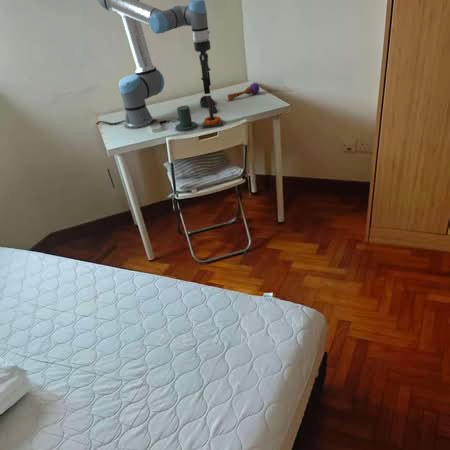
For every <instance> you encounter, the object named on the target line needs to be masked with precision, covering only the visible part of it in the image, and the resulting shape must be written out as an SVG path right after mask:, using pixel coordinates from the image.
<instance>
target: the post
mask: <svg viewBox="0 0 450 450" xmlns="http://www.w3.org/2000/svg"><path fill="white" fill-rule="evenodd" d="M206 96H207V99H208V107H207V108H208V113H209V117H210V121H212V120H214V116H215V115H214V113H213V107H212V100H211V98H212V95H211V94H209V95H208V94H207V95H206ZM216 127H217V128H219V127H222V118H221V117H220V122H219V123H217V124H212V125H208V124H205V122H204V121H203V129H209V128H216Z"/></svg>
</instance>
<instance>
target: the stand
mask: <svg viewBox="0 0 450 450" xmlns="http://www.w3.org/2000/svg"><path fill="white" fill-rule="evenodd" d="M176 110H177V117H178V121H179V123H177V124H176V126H175V130H176V131H178V132H189V131H191V130H195V129H196V128H197V127H198V123H197V122H196V121H192V114H191V109H190V106H189V105H180V106H177V108H176Z"/></svg>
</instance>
